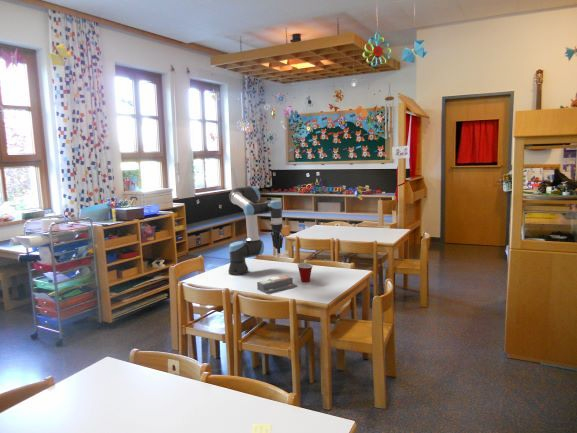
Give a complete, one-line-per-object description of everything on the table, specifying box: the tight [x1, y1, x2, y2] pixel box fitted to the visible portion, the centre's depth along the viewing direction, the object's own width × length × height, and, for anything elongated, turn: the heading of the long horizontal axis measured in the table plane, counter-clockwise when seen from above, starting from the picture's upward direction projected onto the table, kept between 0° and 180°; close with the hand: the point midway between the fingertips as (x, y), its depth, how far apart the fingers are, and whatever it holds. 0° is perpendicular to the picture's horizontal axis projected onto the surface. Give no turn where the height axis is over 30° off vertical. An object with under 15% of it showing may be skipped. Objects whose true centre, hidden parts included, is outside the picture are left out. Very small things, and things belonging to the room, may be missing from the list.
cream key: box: [268, 276, 281, 282], centre depth 294 cm, size 6×6×3 cm
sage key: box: [258, 279, 272, 284], centre depth 290 cm, size 6×6×3 cm
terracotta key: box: [278, 275, 291, 280], centre depth 298 cm, size 6×6×3 cm
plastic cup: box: [297, 262, 314, 283], centre depth 304 cm, size 11×11×12 cm
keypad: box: [256, 276, 298, 295], centre depth 292 cm, size 13×23×5 cm, turn 123°
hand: (278, 257), depth 299 cm, fingers closed
